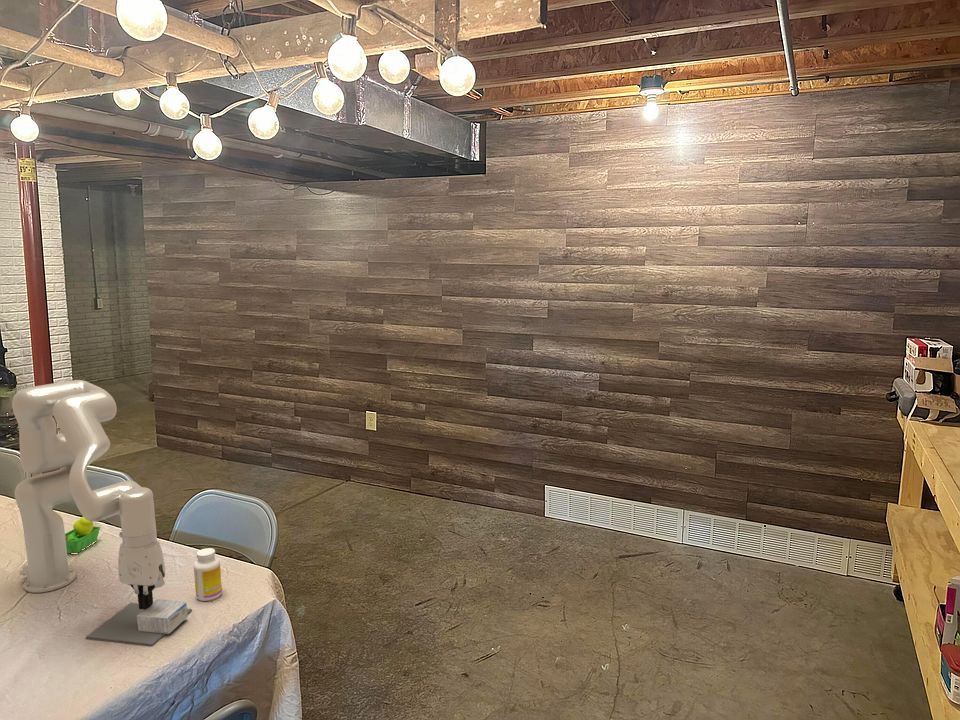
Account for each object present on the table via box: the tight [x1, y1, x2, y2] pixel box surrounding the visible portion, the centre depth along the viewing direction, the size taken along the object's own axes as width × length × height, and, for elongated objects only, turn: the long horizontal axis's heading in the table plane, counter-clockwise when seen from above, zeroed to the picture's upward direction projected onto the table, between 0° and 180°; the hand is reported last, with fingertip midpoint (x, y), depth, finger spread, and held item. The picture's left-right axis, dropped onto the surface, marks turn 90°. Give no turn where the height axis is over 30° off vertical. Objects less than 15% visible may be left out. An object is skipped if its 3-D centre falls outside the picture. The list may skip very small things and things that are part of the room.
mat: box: [85, 602, 193, 647], centre depth 169 cm, size 18×16×1 cm
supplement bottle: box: [193, 547, 223, 602], centre depth 182 cm, size 7×7×13 cm
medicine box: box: [137, 598, 188, 635], centre depth 168 cm, size 8×4×9 cm
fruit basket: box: [65, 515, 101, 554], centre depth 211 cm, size 11×9×11 cm
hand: (146, 606), depth 168 cm, fingers closed
